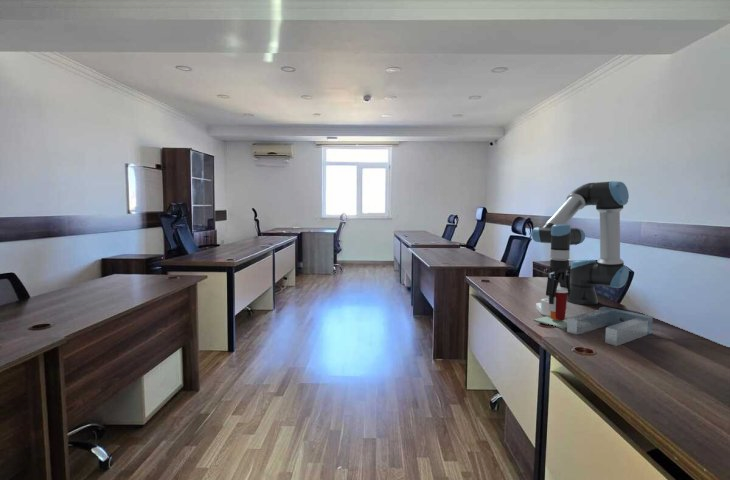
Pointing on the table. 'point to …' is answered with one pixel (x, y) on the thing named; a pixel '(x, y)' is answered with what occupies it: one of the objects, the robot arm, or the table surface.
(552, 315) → the paper cup
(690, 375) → the table surface
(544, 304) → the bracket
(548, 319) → the mat
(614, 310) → the vise
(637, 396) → the table surface
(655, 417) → the table surface
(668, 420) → the table surface
